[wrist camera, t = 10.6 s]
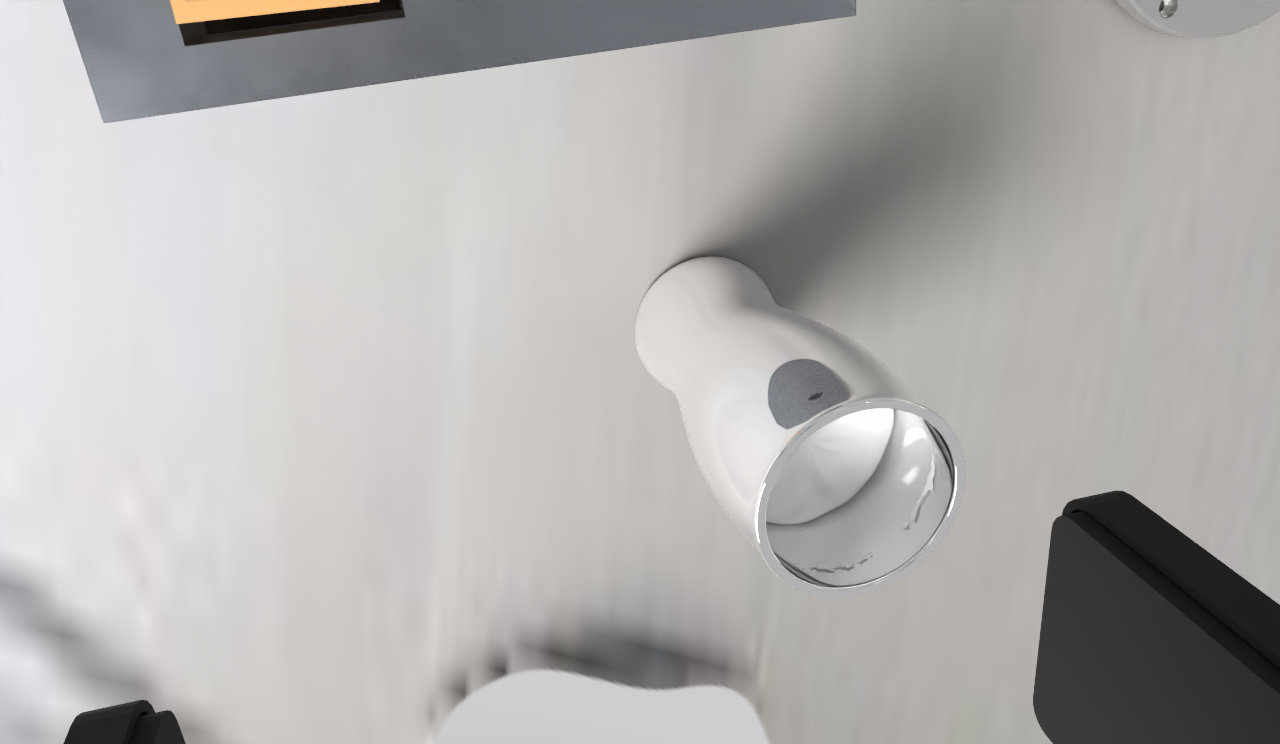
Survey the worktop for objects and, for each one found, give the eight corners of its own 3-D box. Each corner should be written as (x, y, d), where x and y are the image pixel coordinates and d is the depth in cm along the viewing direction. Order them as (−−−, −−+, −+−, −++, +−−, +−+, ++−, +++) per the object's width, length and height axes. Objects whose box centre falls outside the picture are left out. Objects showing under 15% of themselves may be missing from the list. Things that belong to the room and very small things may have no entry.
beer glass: (591, 356, 41) (701, 555, 27) (684, 213, 39) (846, 348, 26) (721, 425, 43) (877, 635, 30) (811, 294, 42) (1017, 453, 29)
